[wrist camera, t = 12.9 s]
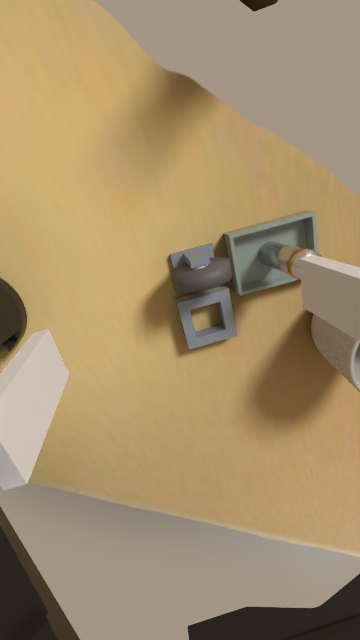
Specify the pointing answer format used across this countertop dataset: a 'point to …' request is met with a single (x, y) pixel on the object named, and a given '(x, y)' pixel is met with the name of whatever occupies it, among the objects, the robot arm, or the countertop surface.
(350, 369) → the planter
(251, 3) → the beer bottle
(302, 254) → the pin
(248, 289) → the tray
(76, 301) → the countertop surface
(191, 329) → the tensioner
